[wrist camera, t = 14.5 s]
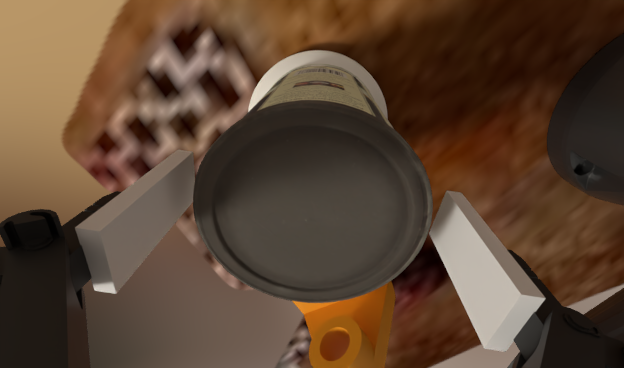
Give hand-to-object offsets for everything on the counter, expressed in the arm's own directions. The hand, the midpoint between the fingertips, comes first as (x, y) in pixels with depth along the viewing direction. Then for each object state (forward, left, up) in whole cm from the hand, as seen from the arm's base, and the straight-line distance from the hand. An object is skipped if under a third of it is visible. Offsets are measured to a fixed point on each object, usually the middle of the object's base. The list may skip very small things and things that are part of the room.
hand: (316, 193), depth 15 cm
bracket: (-5, +18, -13) cm, 22 cm away
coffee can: (0, 0, -11) cm, 11 cm away
